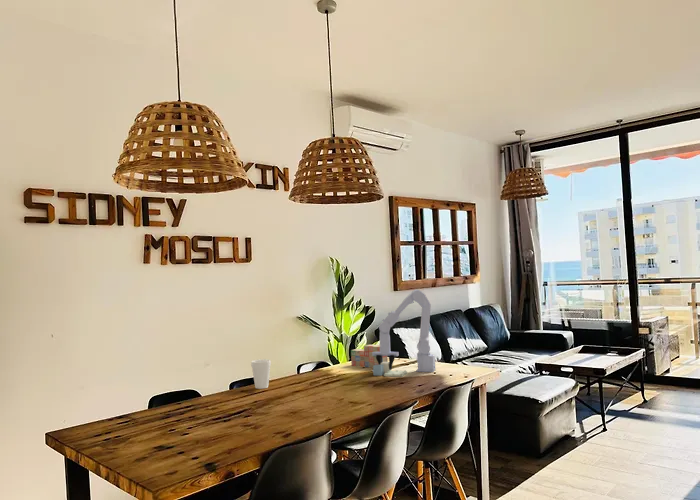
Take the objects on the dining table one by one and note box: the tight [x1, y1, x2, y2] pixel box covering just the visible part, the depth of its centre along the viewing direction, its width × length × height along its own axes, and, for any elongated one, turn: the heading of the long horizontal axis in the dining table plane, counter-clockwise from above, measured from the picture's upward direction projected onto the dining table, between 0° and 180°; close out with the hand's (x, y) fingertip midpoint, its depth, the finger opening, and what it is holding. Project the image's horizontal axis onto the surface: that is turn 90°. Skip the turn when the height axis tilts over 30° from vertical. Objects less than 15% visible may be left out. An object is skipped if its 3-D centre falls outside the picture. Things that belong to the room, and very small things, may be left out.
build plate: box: [383, 369, 408, 378], centre depth 282 cm, size 10×10×1 cm
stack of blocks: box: [350, 344, 389, 368], centre depth 311 cm, size 21×6×12 cm, turn 58°
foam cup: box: [250, 358, 272, 390], centre depth 263 cm, size 10×9×13 cm
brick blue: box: [372, 364, 385, 377], centre depth 284 cm, size 4×4×5 cm
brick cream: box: [381, 361, 390, 374], centre depth 291 cm, size 4×4×5 cm
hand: (386, 369), depth 291 cm, fingers open, 5 cm apart
